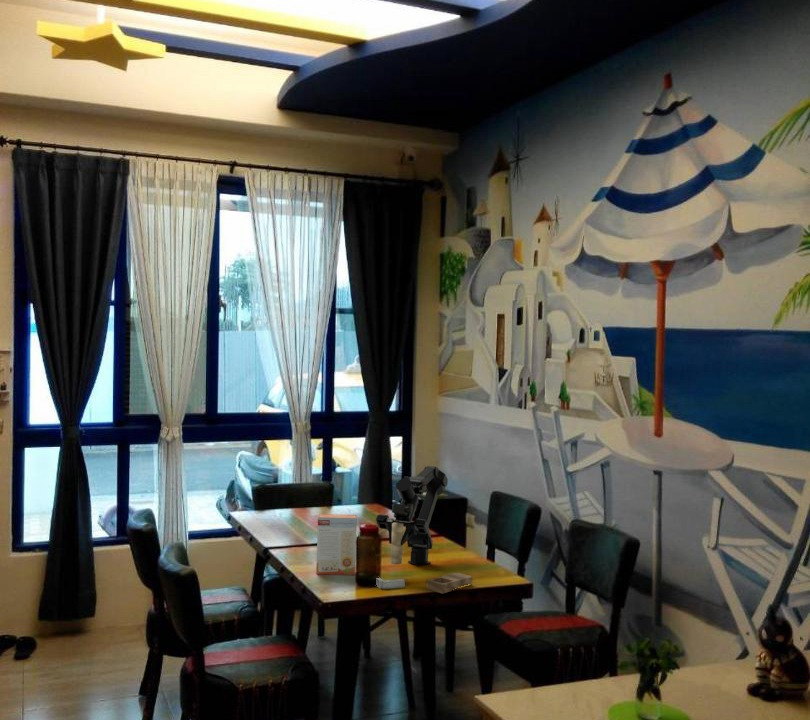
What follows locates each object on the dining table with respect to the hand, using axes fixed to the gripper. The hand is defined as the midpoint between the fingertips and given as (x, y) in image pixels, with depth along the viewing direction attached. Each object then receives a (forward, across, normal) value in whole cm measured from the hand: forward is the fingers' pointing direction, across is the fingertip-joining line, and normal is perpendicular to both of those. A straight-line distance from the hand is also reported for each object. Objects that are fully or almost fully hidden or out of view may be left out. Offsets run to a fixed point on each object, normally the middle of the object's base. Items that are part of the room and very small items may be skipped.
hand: (395, 544), depth 303 cm
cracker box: (+10, -22, +9) cm, 26 cm away
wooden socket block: (+8, +20, +10) cm, 24 cm away
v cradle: (+15, 0, +3) cm, 15 cm away
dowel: (+4, 0, +6) cm, 7 cm away
